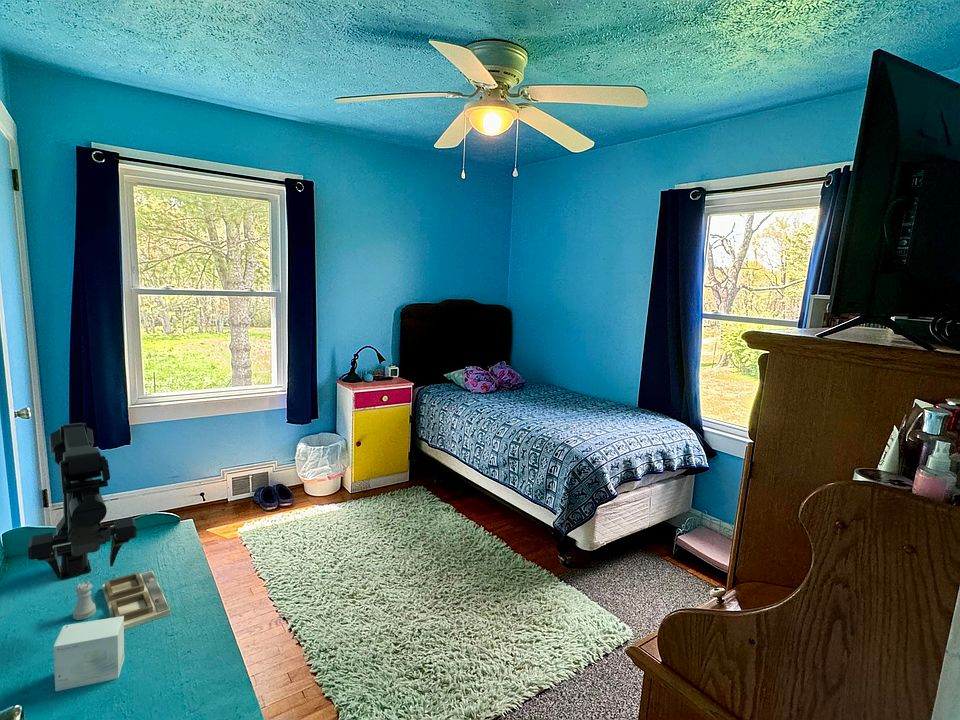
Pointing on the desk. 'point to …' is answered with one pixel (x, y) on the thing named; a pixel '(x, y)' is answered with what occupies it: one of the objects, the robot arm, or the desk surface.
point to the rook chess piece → (84, 602)
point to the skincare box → (89, 653)
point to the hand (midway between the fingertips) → (86, 571)
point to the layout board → (135, 598)
